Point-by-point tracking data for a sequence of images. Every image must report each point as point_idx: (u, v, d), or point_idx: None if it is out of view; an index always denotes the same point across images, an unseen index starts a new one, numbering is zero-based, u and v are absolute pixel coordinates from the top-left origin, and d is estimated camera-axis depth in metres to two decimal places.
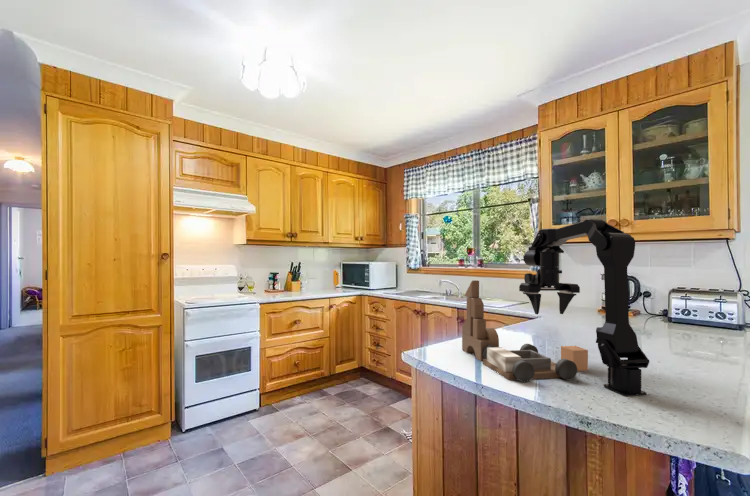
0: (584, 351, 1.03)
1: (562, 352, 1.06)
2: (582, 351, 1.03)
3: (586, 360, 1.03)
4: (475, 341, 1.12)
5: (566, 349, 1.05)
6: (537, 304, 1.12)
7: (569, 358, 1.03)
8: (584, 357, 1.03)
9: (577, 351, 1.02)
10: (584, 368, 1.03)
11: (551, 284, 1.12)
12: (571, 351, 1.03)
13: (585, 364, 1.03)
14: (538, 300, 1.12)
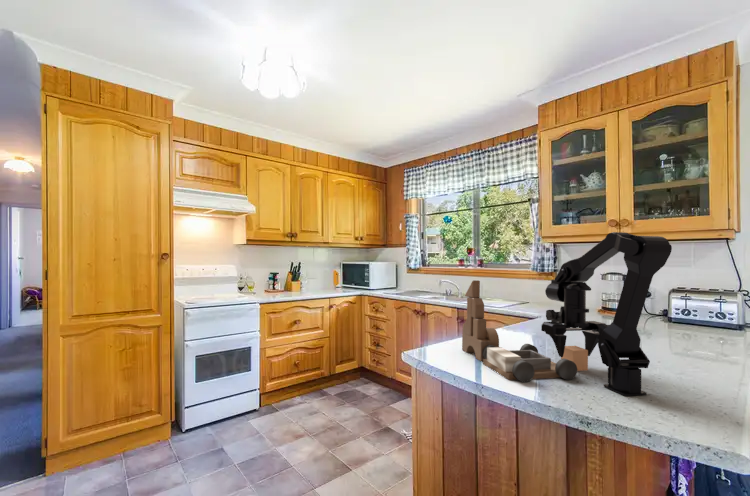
0: (584, 351, 1.03)
1: None
2: (582, 351, 1.03)
3: (586, 360, 1.03)
4: (476, 341, 1.12)
5: (566, 349, 1.05)
6: (562, 346, 1.02)
7: (569, 358, 1.03)
8: (584, 357, 1.03)
9: (577, 351, 1.02)
10: (584, 368, 1.03)
11: (577, 324, 1.02)
12: (571, 351, 1.03)
13: (585, 364, 1.03)
14: (563, 342, 1.02)
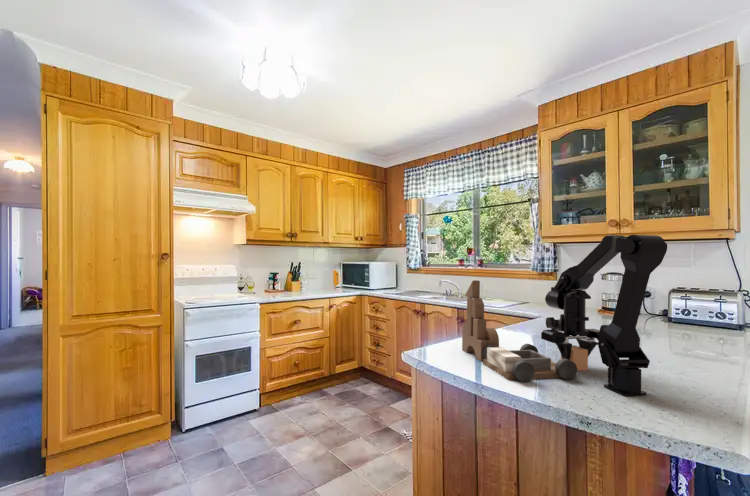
0: (584, 351, 1.03)
1: None
2: (582, 351, 1.03)
3: (586, 360, 1.03)
4: (476, 341, 1.12)
5: None
6: (567, 354, 1.03)
7: None
8: (584, 357, 1.03)
9: (577, 351, 1.02)
10: (584, 368, 1.03)
11: (577, 333, 1.02)
12: (571, 351, 1.03)
13: (585, 364, 1.03)
14: (568, 350, 1.02)
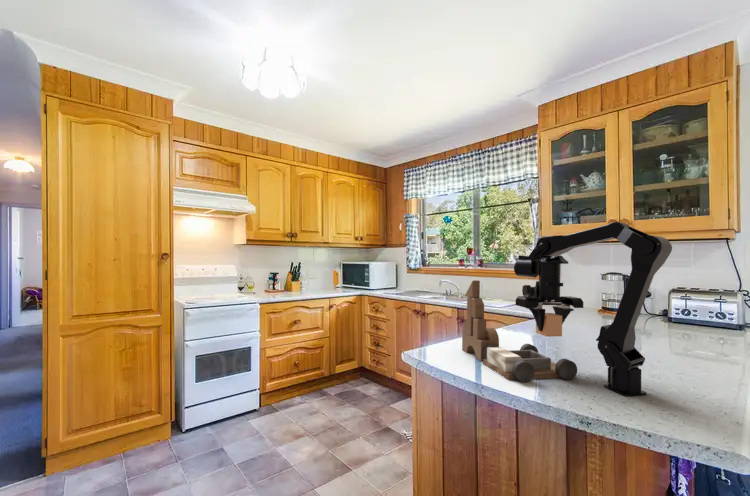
0: (558, 317, 1.02)
1: None
2: (556, 317, 1.02)
3: (560, 326, 1.02)
4: (476, 341, 1.12)
5: None
6: (541, 320, 1.02)
7: None
8: (558, 322, 1.02)
9: (551, 316, 1.01)
10: (558, 334, 1.02)
11: (551, 298, 1.01)
12: (545, 316, 1.02)
13: (559, 330, 1.02)
14: (542, 316, 1.01)
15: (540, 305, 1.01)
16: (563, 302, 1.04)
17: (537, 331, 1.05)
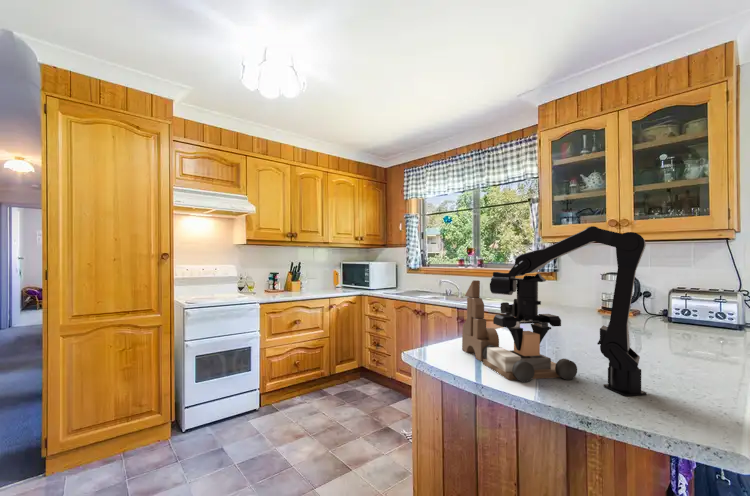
0: (536, 335, 1.00)
1: None
2: (534, 335, 1.00)
3: (538, 345, 1.00)
4: (476, 341, 1.12)
5: None
6: (519, 339, 1.00)
7: None
8: (535, 341, 1.00)
9: (528, 335, 0.99)
10: (536, 353, 1.00)
11: (528, 317, 0.99)
12: (522, 335, 1.00)
13: (537, 349, 1.00)
14: (520, 335, 0.99)
15: (518, 324, 0.99)
16: (541, 320, 1.02)
17: (515, 350, 1.03)
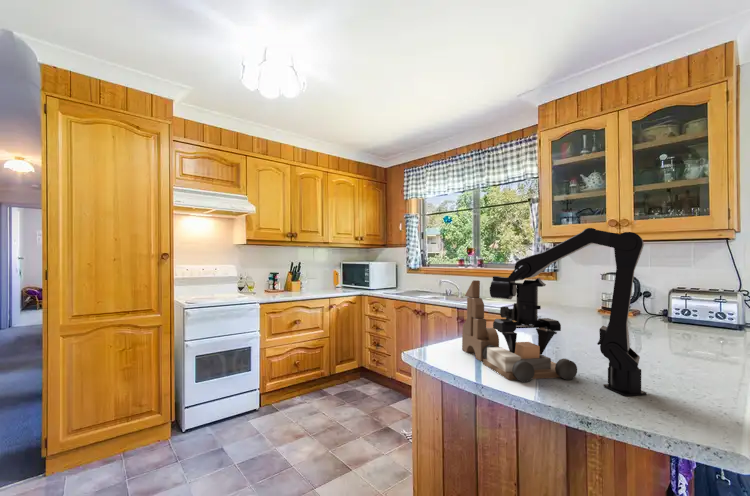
0: (535, 347, 1.00)
1: (515, 348, 1.03)
2: (533, 347, 1.00)
3: (537, 356, 1.00)
4: (476, 341, 1.12)
5: (518, 345, 1.02)
6: (512, 344, 0.99)
7: (520, 354, 1.01)
8: (535, 353, 1.00)
9: (528, 347, 0.99)
10: None
11: (528, 322, 0.99)
12: (522, 347, 1.00)
13: None
14: (513, 340, 0.99)
15: None
16: (546, 325, 1.03)
17: None
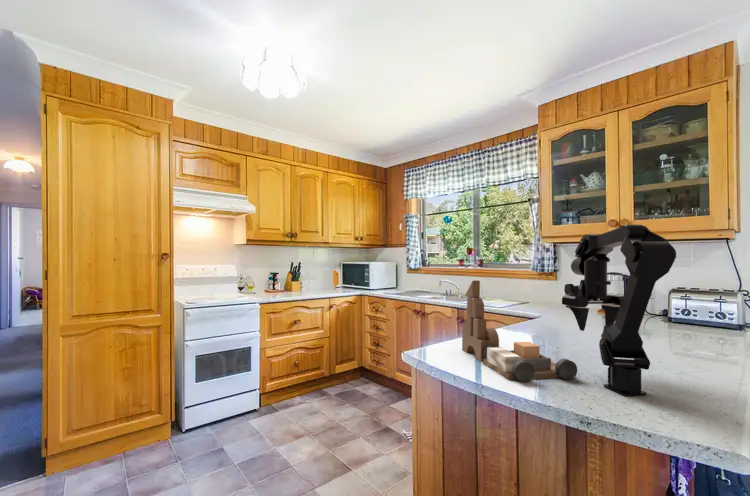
0: (535, 347, 1.00)
1: (515, 348, 1.03)
2: (533, 347, 1.00)
3: (537, 356, 1.00)
4: (476, 341, 1.12)
5: (518, 345, 1.02)
6: (584, 319, 0.99)
7: (520, 354, 1.01)
8: (535, 353, 1.00)
9: (528, 347, 0.99)
10: None
11: (599, 297, 0.99)
12: (522, 347, 1.00)
13: None
14: (585, 315, 0.99)
15: None
16: (614, 300, 1.03)
17: None
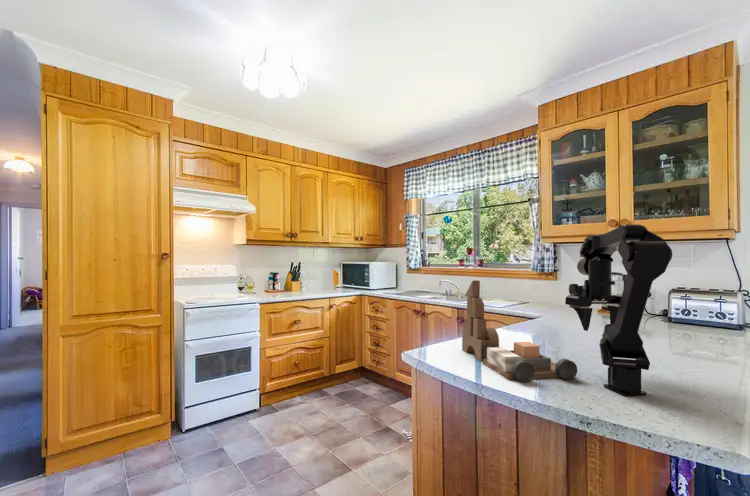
0: (535, 347, 1.00)
1: (515, 348, 1.03)
2: (533, 347, 1.00)
3: (537, 356, 1.00)
4: (476, 341, 1.12)
5: (518, 345, 1.02)
6: (587, 319, 0.99)
7: (520, 354, 1.01)
8: (535, 353, 1.00)
9: (528, 347, 0.99)
10: None
11: (603, 297, 0.99)
12: (522, 347, 1.00)
13: None
14: (589, 315, 0.99)
15: None
16: (619, 301, 1.03)
17: None
